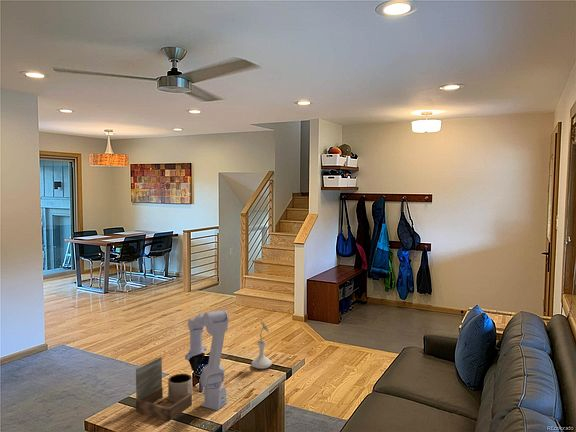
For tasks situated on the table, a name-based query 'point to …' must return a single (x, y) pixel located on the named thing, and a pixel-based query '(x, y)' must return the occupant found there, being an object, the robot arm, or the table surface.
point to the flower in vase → (261, 354)
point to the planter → (179, 387)
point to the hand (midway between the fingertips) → (196, 369)
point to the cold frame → (155, 393)
